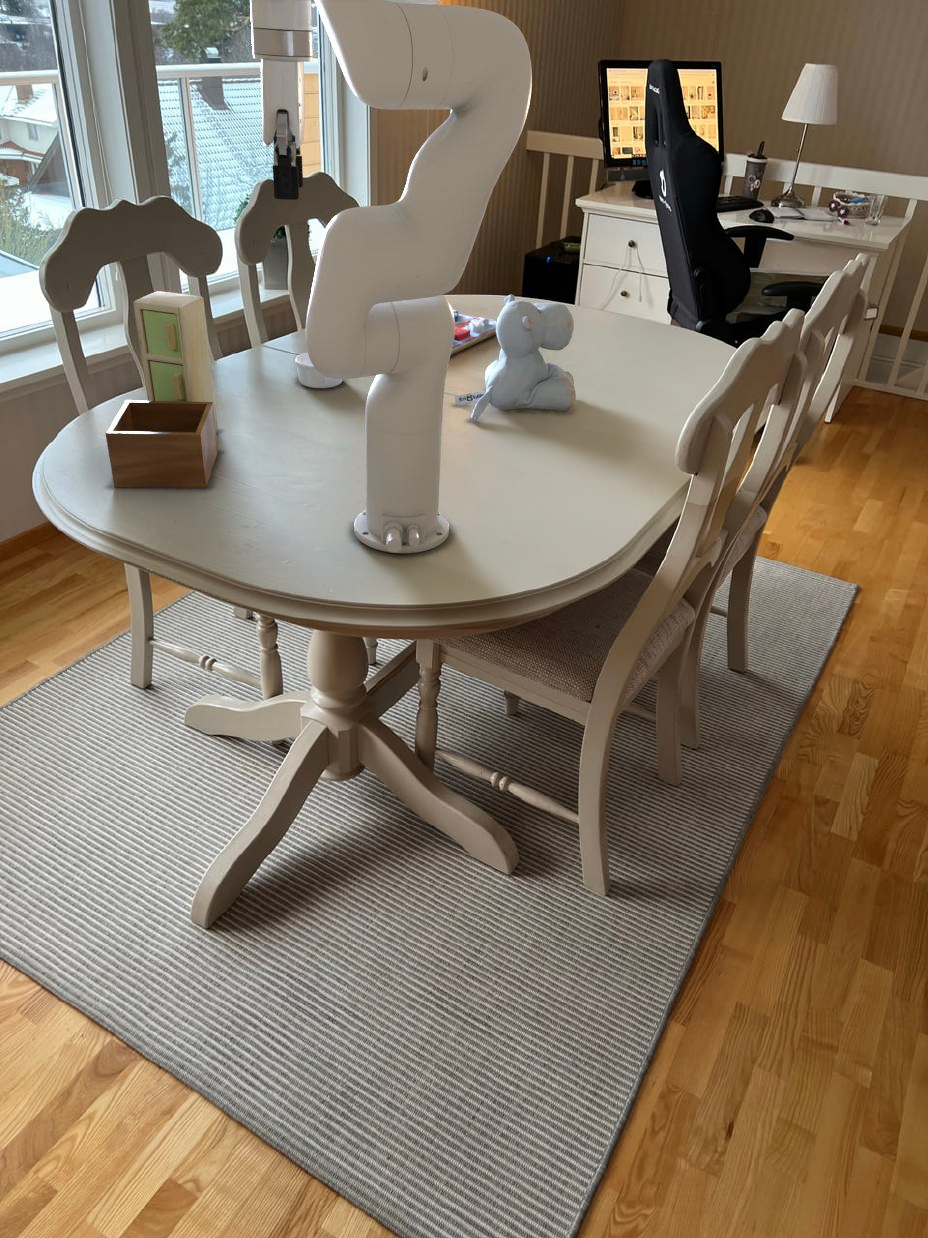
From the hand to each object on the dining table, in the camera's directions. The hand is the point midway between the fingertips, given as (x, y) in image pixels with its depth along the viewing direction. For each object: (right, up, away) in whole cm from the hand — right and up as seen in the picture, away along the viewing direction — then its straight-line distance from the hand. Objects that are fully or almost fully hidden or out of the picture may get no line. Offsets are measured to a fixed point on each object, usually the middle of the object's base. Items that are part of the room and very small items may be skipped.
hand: (289, 192), depth 128 cm
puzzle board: (+16, +2, +71) cm, 72 cm away
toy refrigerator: (-20, -30, +20) cm, 41 cm away
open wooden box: (-19, -36, +9) cm, 42 cm away
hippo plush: (+33, -20, +39) cm, 55 cm away
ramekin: (-2, -15, +43) cm, 46 cm away
